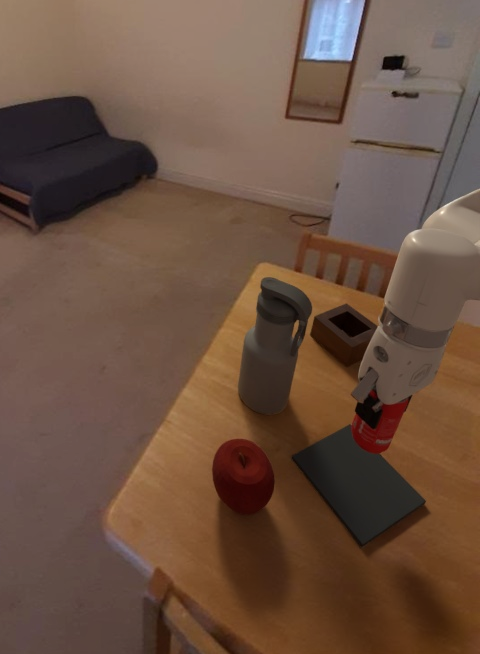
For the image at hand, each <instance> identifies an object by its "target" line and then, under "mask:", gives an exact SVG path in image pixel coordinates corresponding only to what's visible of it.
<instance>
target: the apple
mask: <svg viewBox="0 0 480 654" xmlns="http://www.w3.org/2000/svg"><path fill="white" fill-rule="evenodd" d="M211 474H212V482H213V486H214V489H215V492H216V494H217V496H218V498H219V499H220V500H221V502H222V503H223V504H224V505H225V506H226V507H227V508H228V509H230V510H231V511H232V512H234V513H237V514H239V515H243V516H251V515H255V514H257V513H259V512H260V511H262V510H263V509H264V508H266V506H267V505H268V503H269V502H270V501H271V499H272V497H273V494H274V492H275V484H276V477H275V471H274V468H273V465H272V463H271V460H270V459H269V457H268V455H267V454H266V452H265V451H264V450H263V448H262V447H260V446H259V445H258V444H256V443H255V442H254V441H251V440H249V439H246V438H233V439H229V440H226V441H225V442H223V443H222V444H221V445H220V446H219V447H218V448H217V450H216V452H215V454H214V457H213V459H212V467H211Z"/></svg>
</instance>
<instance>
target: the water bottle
mask: <svg viewBox="0 0 480 654" xmlns="http://www.w3.org/2000/svg"><path fill="white" fill-rule="evenodd" d="M259 286H260V292H259V293H258V295H257V299H256V300H257V301H256V306H255V310H256V311H255V313H256V317H255V324H254V325H253V326H252V327H250V328H249V329H248V330H247V331H246V333H245V335H244V338H243V344H242V352H241V358H240V359H241V360H240V368H239V373H238V375H239V376H238V382H237V391H238V395H239V397H240V399H241V400H242V402H243V403H244V405H246V407H248V408H249V409H250V410H252V411H253V412H256V413H258V414H260V415H266V416H270V415H272V416H273V415H277V414H279V413H281V412H283V411H284V410H285V409H286V407H287V406H288V402H289V399H290V394H291V389H292V384H293V381H294V376H295V371H296V367H297V362H298V357H299V350H300V347H301V346H302V344H303V341H304V339H305V336H306V331H307V327H308V323H309V319H310V317H311V315H312V312H313V305H312V302H311V299H310V298H309V297H308V295H307V294H306V293H305V292H304V291H303V290H302V289H300V288H298V287H297V286H295V285H293V284H290V283H288V282H285V281H282V280H280V279H278V278H275V277H272V276H266V277H263V278H262V279H261V280H260V285H259ZM297 321H298V326H297V331H296V332H295V334H294V336H293V333H294V328H295V324H296V323H297Z"/></svg>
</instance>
